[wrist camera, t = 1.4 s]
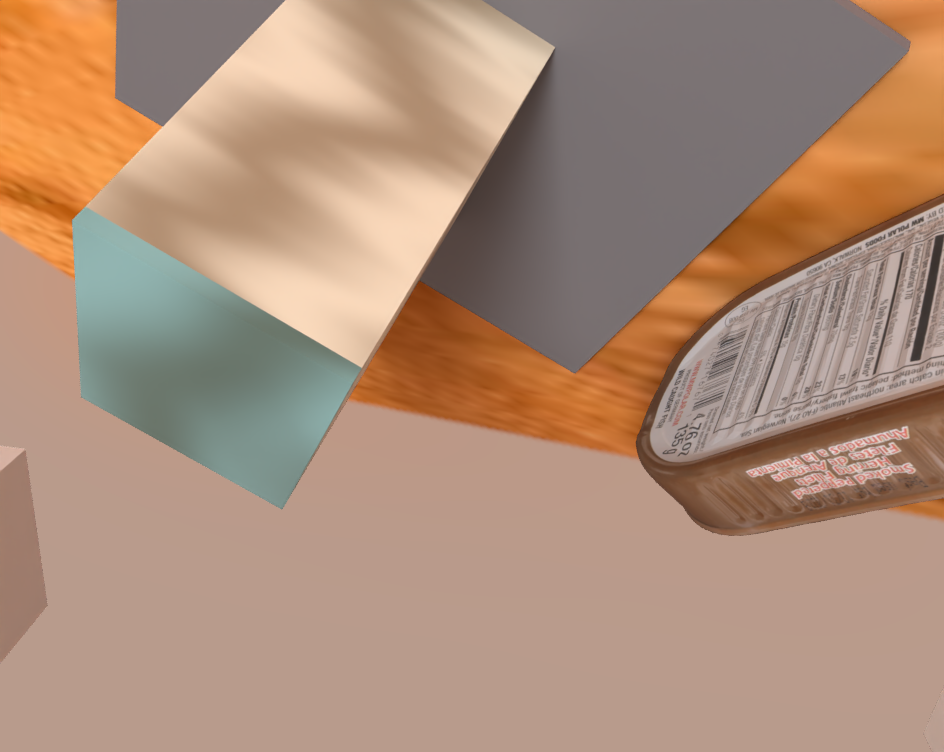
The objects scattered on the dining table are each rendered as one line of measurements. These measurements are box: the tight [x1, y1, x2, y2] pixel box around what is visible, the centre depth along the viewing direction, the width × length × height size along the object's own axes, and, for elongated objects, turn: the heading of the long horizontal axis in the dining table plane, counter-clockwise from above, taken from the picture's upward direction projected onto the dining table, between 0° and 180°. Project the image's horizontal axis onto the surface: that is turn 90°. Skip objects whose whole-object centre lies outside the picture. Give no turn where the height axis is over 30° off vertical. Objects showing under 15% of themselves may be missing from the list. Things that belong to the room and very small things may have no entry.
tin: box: [636, 194, 944, 536], centre depth 22 cm, size 15×3×8 cm, turn 144°
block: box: [72, 0, 555, 509], centre depth 23 cm, size 6×8×12 cm
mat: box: [115, 0, 910, 373], centre depth 26 cm, size 20×17×1 cm
